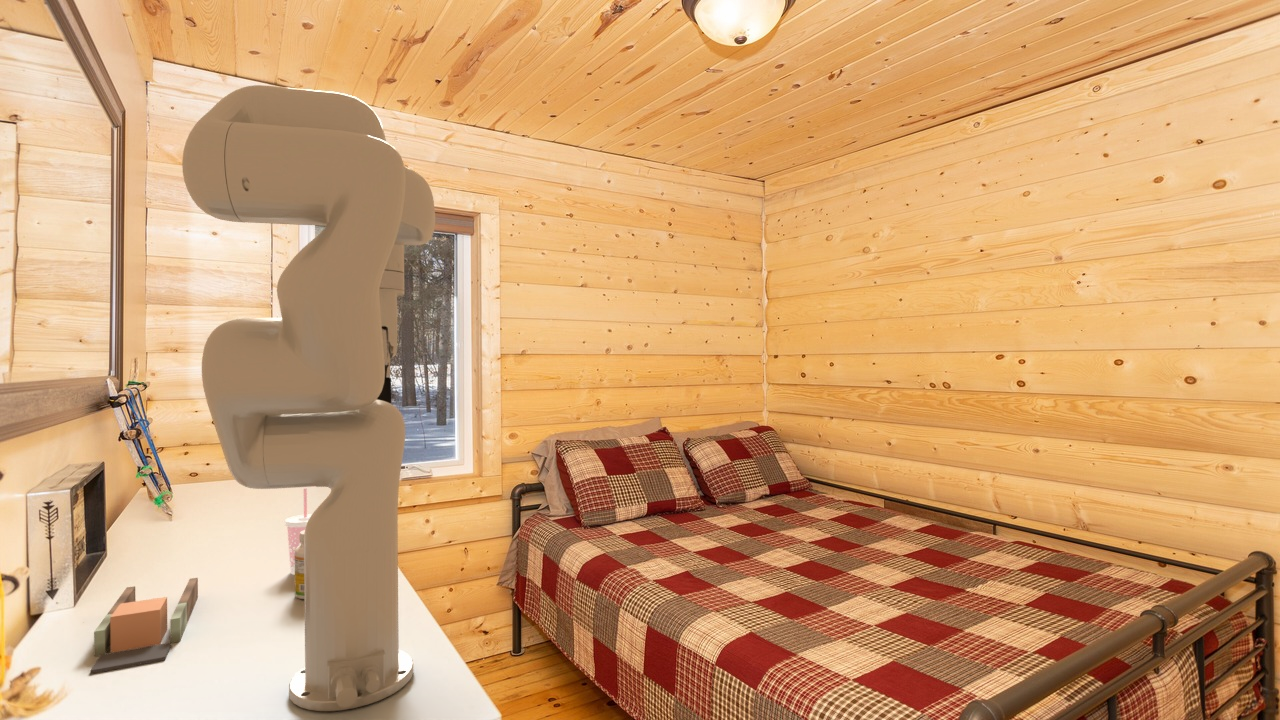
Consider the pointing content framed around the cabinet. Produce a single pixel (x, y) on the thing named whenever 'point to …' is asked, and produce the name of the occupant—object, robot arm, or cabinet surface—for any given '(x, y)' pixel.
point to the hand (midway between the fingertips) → (379, 404)
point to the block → (138, 624)
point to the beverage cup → (296, 531)
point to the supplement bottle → (299, 568)
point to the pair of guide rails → (176, 622)
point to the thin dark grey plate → (131, 658)
